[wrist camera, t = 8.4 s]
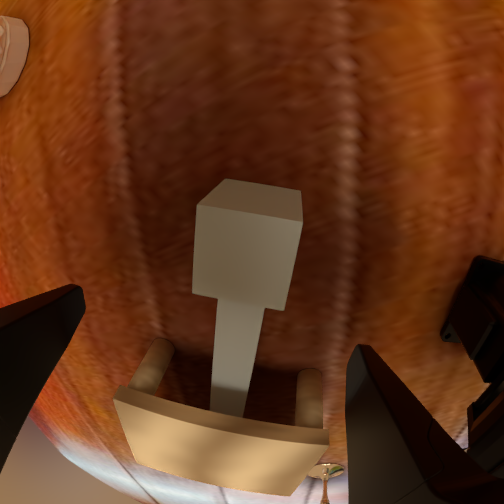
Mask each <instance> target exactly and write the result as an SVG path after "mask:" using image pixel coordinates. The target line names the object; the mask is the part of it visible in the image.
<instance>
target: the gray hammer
mask: <svg viewBox="0 0 504 504" xmlns="http://www.w3.org/2000/svg"><path fill="white" fill-rule="evenodd" d="M302 225H303V212H302V198H301V191H299V190H293V189H288V188H282V187H276V186H270V185H264V184H258V183H252V182H245V181H239V180H232V179H224V180H223V181H222V182H221V183H220V184H219V185H218V186H217V187H215V188H214V189H213V190H212V191H211V192H210V193H209V194H208V195H207V196H206V197H204V198H203V199H202V200H201V201H200V202H199V203H198V204H197V211H196V225H195V241H194V260H193V282H192V293H193V294H197V295H202V296H207V297H212V298H217V299H218V304H217V316H216V328H215V341H214V354H213V367H212V382H211V397H210V411H212V412H216V413H221V414H225V415H230V416H235V417H240V418H242V417H243V413H244V408H245V403H246V399H247V394H248V389H249V384H250V379H251V374H252V370H253V365H254V360H255V355H256V350H257V345H258V340H259V335H260V330H261V324H262V319H263V314H264V309H265V308H270V309H276V310H281V311H284V308H285V303H286V299H287V295H288V290H289V286H290V281H291V277H292V272H293V268H294V263H295V259H296V254H297V249H298V245H299V240H300V235H301V230H302Z"/></svg>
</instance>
